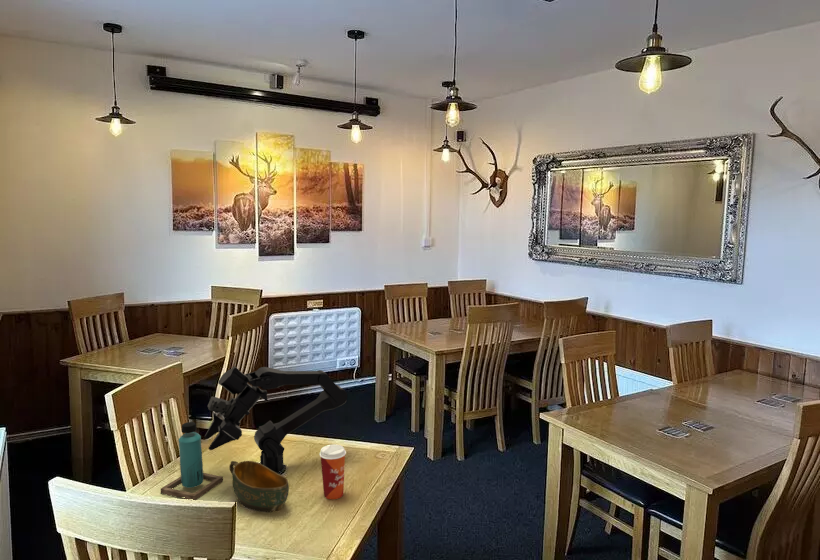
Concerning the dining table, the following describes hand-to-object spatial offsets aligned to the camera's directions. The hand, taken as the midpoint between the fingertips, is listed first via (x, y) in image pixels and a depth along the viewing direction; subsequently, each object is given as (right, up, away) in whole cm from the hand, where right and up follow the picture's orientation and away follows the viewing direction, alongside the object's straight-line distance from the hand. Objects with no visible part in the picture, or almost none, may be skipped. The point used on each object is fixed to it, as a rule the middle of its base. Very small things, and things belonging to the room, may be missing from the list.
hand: (207, 443), depth 167 cm
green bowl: (+18, -14, -9) cm, 25 cm away
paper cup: (+39, -14, -5) cm, 42 cm away
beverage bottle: (-4, -13, -1) cm, 14 cm away
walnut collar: (-4, -13, -1) cm, 14 cm away
